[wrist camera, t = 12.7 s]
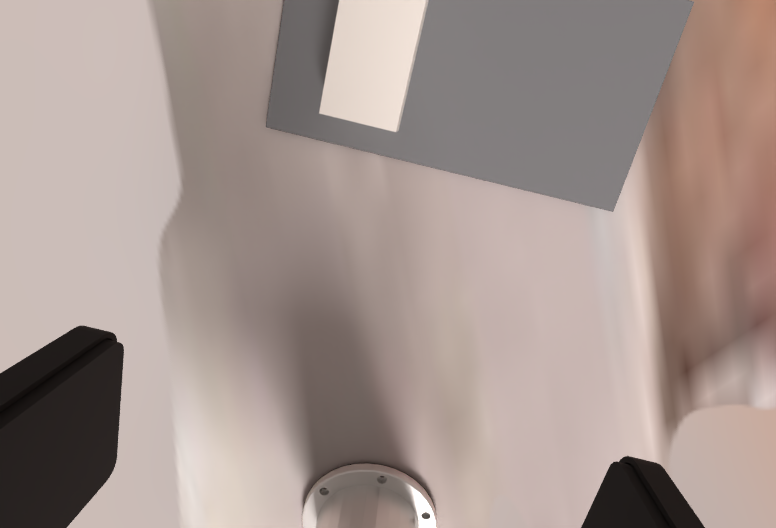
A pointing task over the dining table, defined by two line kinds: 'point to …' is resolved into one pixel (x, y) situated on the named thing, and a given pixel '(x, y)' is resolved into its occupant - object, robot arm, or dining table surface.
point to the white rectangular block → (372, 60)
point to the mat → (502, 89)
